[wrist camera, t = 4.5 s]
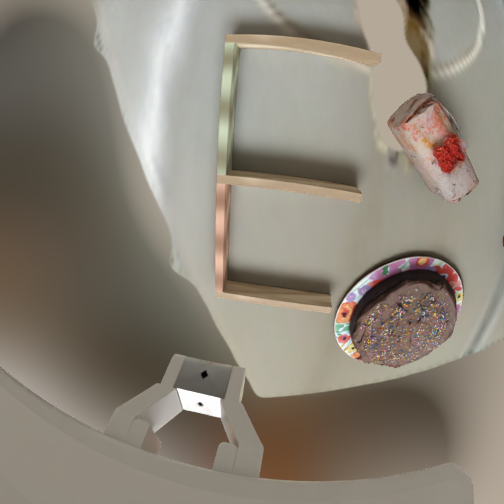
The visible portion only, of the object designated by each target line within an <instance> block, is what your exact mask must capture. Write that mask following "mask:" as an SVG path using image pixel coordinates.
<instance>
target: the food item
mask: <svg viewBox="0 0 504 504" xmlns="http://www.w3.org/2000/svg"><path fill="white" fill-rule="evenodd" d="M451 121H452V122H453V123H454V124H455V126H456V128H457V129H458V130H459V131H460V132H461V130H460V128H459V126H458V125H457V123H456V121H455V119H454V118H453V116H452V114H451V113H450V112H449V111H448V110H447V109H446V108H445V107H444V106H443V105H442V103H441V102H440V101H438V100H437V99H436V98H435V96H434V95H433V94H431V93H426V94H425V93H424V94H417V95H416V96H414V97H412V98H410V99H409V100H407V101H406V102H405V103H404V104H402V105H401V106H400V107H399V108H398V110H397V111H396V112H395V113H394V114H393V115H392V116H391V117H390V119H389V120H388V126H389V127H390V129H391V131H392V133H393V134H394V136H395V137H396V139H397V141H398V142H399V143H400V145H401V146H402V148H403V150H404V151H405V153H406V154H407V156H408V157H409V159H410V160H411V161H412V162H413V164H414V166H415V168H416V169H417V171H418V172H419V173H420V175H421V177H422V179H423V180H424V182H425V184H426V185H427V187H428V188H429V190H430V191H431V192H433V193H434V194H436V195H438V196H440V197H441V198H442V199H444V200H446V201H447V202H451V203H455V202H458V201H460V199H461V198H462V197H464V196H465V195H468V194H469V193H470V192H471V191H472V190H473V189H474V188H475V187H476V186H477V184H478V183H479V180H478V178H477V176H476V174H475V172H474V169H473V167H472V164H471V162H470V160H469V158H468V156H467V154H466V152H465V149H466V148H468V146H469V145H468V143H467V142H466V141H463V140H462V139H459V138H458V136H457V134H456V132H455V130H454V129H453V127H452V123H451ZM461 133H462V132H461ZM462 135H463V134H462ZM461 141H462V142H461ZM467 145H468V146H467Z"/></svg>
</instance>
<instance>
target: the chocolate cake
mask: <svg viewBox="0 0 504 504" xmlns="http://www.w3.org/2000/svg"><path fill="white" fill-rule="evenodd" d="M462 302H463V287H462V282H461V279H460V276H459V274H457V272H456V270H454V269H453V268H452V267H451V266H450V265H449V264H448V263H446V262H444V261H441V260H439V259H436V258H432V257H428V256H419V255H416V256H408V257H404V258H402V259H397V260H395V261H393V262H391V263H388V264H384V265H382V266H380V267H378V268H376V269H374V270H373V271H371V272H369V273H368V274H367V275H366V276H364V277H363V278H362V279H360V280H359V281H358V282H357V283H356V284H355V285H354V286H353V287H352V289H351V290H350V291H349V292H347V293H346V294H345V296H344V298H343V300H342V303H341V304H340V307H339V308H338V310H337V314H336V316H335V323H334V333H335V336H336V340H337V342H338V344H339V345H340V347H341V348H342V350H343V351H345V352H346V353H347V354H348V355H349V356H351V357H353V358H355V359H357V360H359V361H362V362H364V363H372V364H373V363H374V364H380V365H386V366H389V367H394V368H398V367H400V366H402V365H405V364H408V363H411V362H414V361H416V360H418V359H420V358H422V357H424V356H426V355H428V354H429V353H430V352H432V351H433V350H434V349H436V348H437V347H438V346H439V345H441V344H442V343H443V342H445V341H446V340H447V339H448V338H450V336H451V335H452V333H453V329H454V326H455V322H456V320H457V316H458V314H459V312H460V309H461V305H462Z"/></svg>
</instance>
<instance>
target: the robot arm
mask: <svg viewBox="0 0 504 504" xmlns="http://www.w3.org/2000/svg"><path fill="white" fill-rule="evenodd" d="M245 373H246V368H242V367H235V366H231V365H225V364H220V363H214V362H208V361H203V360H199V359H194V358H190V357H187V356H183V355H178V354H175V355H174V356H173V357H172V359H171V362H170V364H169V366H168V368H167V370H166V373H165V375H164V377H163V379H162V382H161V384H159V383H157V384H155V385H153V386H152V387H150V388H149V389H147V390H146V391H144V392H142V393H141V394H139V395H137V396H136V397H134V398H133V399H131V400H129V401H128V402H126V403H124V404H123V405H121V406H119V407H118V408H116V409H115V411H114V413H113V415H112V417H111V419H110V421H109V423H108V425H107V428H106V430H105V431H104V433H102V432H100V431H98V430H96V429H94V428H92V427H90V426H88V425H86V424H84V423H82V422H81V421H79V420H77V419H75V418H73V417H72V416H70V415H68V414H66V413H65V412H63V411H61V410H59V409H58V408H56V407H55V406H53V405H52V404H50V403H49V402H47V401H46V400H44V399H42V398H41V397H40V396H38V395H37V394H35V393H34V392H32V391H31V390H30V389H28V388H27V387H25V386H24V385H23V384H21V383H20V382H19V381H18V380H16V379H15V378H14V377H12V376H11V375H10V374H9V373H7V372H6V371H5V370H4V369H3V368H2V367H0V504H474V494H473V484H472V481H471V479H470V477H469V476H468V475H467V474H466V473H465V472H464V471H463V470H462V469H461V468H460V467H459V466H458V465H457V464H455V463H446V464H442V465H439V466H435V467H431V468H427V469H423V470H419V471H414V472H409V473H404V474H399V475H393V476H386V477H379V478H372V479H361V480H349V481H325V482H324V481H320V482H315V481H286V480H274V479H264V478H259V474H260V468H261V462H262V456H263V450H264V447H263V446H262V444H261V442H260V440H259V438H258V436H257V434H256V432H255V429H254V427H253V426H252V423H251V421H250V419H249V417H248V415H247V413H246V411H245V409H244V406H243V404H242V403H241V399H242V395H243V389H244V382H245ZM182 409H185V410H189V411H194V412H198V413H203V414H207V415H211V416H215V417H219V418H221V420H222V423H223V425H224V428H225V431H226V433H227V436H228V438H229V441H230V443H225V442H222V443H221V444H219V447H218V450H217V454H216V458H215V461H214V465H213V469H212V470H210V469H205V468H201V467H197V466H193V465H189V464H185V463H182V462H178V461H175V460H172V459H168V458H165V457H162V456H159V455H158V454H159V451H160V448H161V445H162V444H161V442H160V440H159V439H158V437H157V436H156V435H155V432H156V431H157V430H158V429H160V428H161V427H162V426H164V425H165V424H166V423H167V422H169V421H170V420H171V419H172V418H173V417H175V416H176V415H177V414H178V413H180V412H181V411H182Z"/></svg>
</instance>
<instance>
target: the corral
mask: <svg viewBox="0 0 504 504" xmlns="http://www.w3.org/2000/svg"><path fill="white" fill-rule="evenodd" d="M240 48H254V49H273V50H286V51H296V52H304V53H311V54H318V55H324V56H330V57H336V58H341V59H346V60H350V61H355V62H359V63H363V64H367V65H371V66H374V65H376V64H378V63H380V62H381V54H379V53H376V52H372V51H369V50H365V49H361V48H356V47H352V46H347V45H343V44H338V43H332V42H326V41H320V40H314V39H306V38H298V37H288V36H276V35H254V34H228V35H226V38H225V49H224V60H223V73H222V86H221V101H220V118H219V137H218V160H217V189H216V246H215V285H216V297H220V298H226V299H232V300H238V301H244V302H251V303H257V304H264V305H271V306H278V307H285V308H293V309H301V310H309V311H317V312H326V313H330V311H331V308H332V306H331V298H330V294H322V293H314V292H307V291H299V290H292V289H284V288H277V287H270V286H263V285H256V284H249V283H243V282H236V281H230V280H227V276H228V243H229V217H230V194H231V185H240V186H249V187H258V188H267V189H275V190H283V191H290V192H298V193H305V194H311V195H318V196H324V197H331V198H337V199H343V200H348V201H354V202H359V203H361V198H362V193H361V192H360V190H359V189H358V188H357V187H355V186H349V185H344V184H338V183H332V182H326V181H320V180H313V179H307V178H300V177H293V176H285V175H277V174H269V173H260V172H250V171H240V170H232V155H233V137H234V121H235V107H236V93H237V79H238V67H239V55H240Z"/></svg>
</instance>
